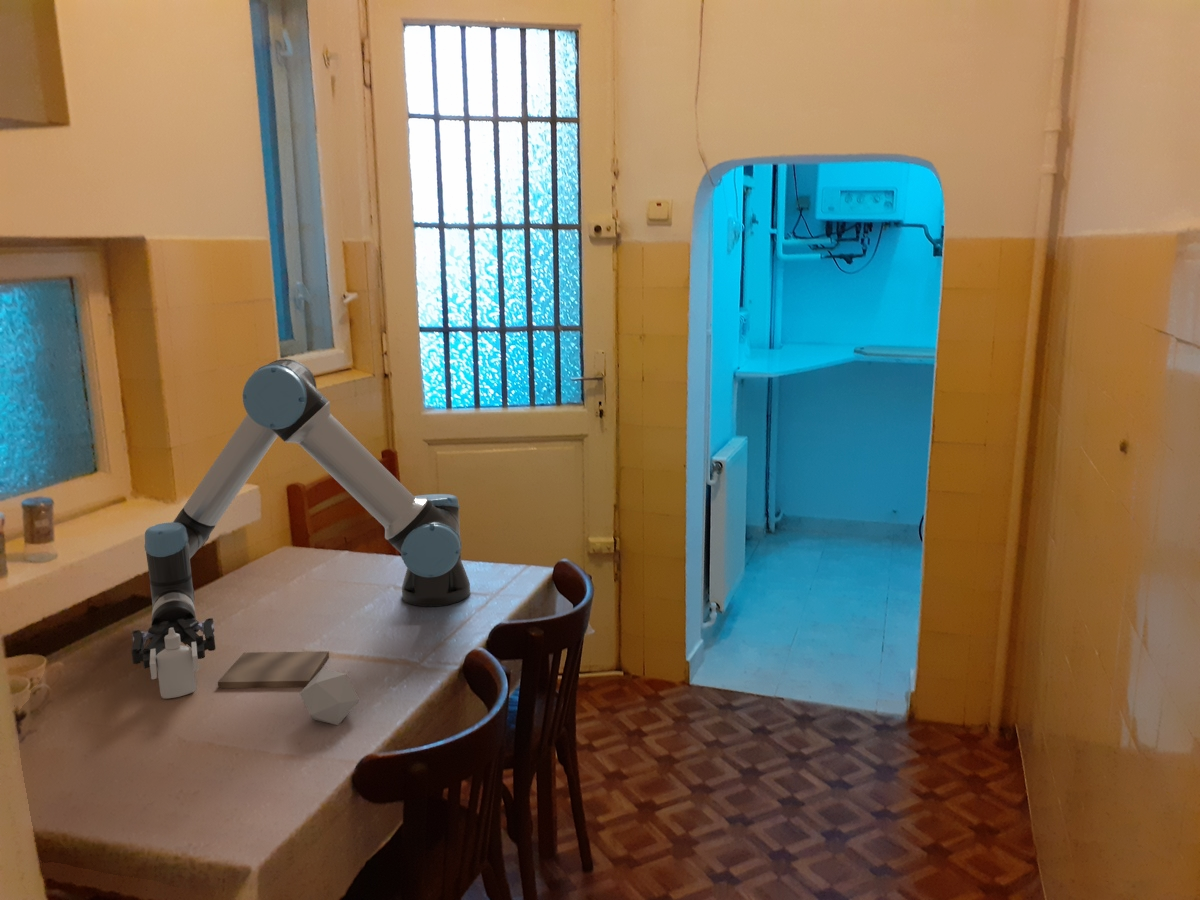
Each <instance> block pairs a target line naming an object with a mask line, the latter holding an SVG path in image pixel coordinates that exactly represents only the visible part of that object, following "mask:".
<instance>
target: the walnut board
mask: <svg viewBox="0 0 1200 900" xmlns="http://www.w3.org/2000/svg"><path fill="white" fill-rule="evenodd" d="M329 658H330V652H329V651H327V650H326V651H325V650H324V651H267V652H266V651H265V652H262V651H259V652H258V651H256V652H243V653H242V654H241V655H240V656H239V657H238V658H237V659H236V660H235V662H234V663H233V664H232V665H231V666H230V668H228V670H227V671H226V672H225V673H224V674H223V675H222V676H221V678H219V680H218V681H217V688H218V689H260V688H261V689H262V688H263V689H264V688H266V689H267V688H277V689H278V688H305V687H306V686H307V685H308V684H309V682H310V681H311V680H312V679H313V678H314V677H315V676H316V675H317V674H318V672H319V671H320V670H321V669H323V668H324V666H325V664H326V663H327V661H328V659H329Z"/></svg>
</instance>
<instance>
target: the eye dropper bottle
mask: <svg viewBox="0 0 1200 900" xmlns="http://www.w3.org/2000/svg"><path fill="white" fill-rule="evenodd" d="M164 640H165V648H164V649H162V650H161V651H160V652H159V653H158V654H157V656H156V662H157V679H158V687H159V692H160V696H161V698H162V699H164V700H165V699H166V700H167V699H175V698H180V697H182V696H186V695H189V694H192V693H193V692H195V691H196V690H197V680H196V679H197V678H196V671H194V667H193V659H192V648H191V647H189V646H188V645H182V642H181V640H180V634H178V633H175V631H174V628H169V633H168V635H166V636H165V637H164Z"/></svg>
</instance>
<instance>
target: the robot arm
mask: <svg viewBox="0 0 1200 900" xmlns="http://www.w3.org/2000/svg"><path fill="white" fill-rule="evenodd" d="M242 390H243V391H242V403H243V407H244V410H245V412H246V413H247V414H246V415H245V417H244V418H243V419H242V421H241V423H239V426H237V428H236V430H235V431H234V433H233V434H232V436H231V437H230V439H229V440H228V441H227V443H226V444H225V446H224V448H223V449H222V450H221V452H220V453H219V455H218V456H217V458H216V459H215V461H214V462H213V463H212V465H211V467H210V468H209V469H208V471H207V473H206V474H205V475H204V477H203V478H202V479H201V481H200V483H199V484H198V485H197V487H196V488H195V490H194V491H193V493H192V495H191V496H190V497H189V499H188V500H187V502H186V503H185V504H184V505H183V508H181V510H180V512H178V514H177V515H176V517H175V518H174V520H173V522H162V523H158V524H155V525H152V526H148V528H147V529H146V530H145V531H144V551H145V554H146V561H147V562H146V563H147V569H148V578H149V585H150V586H149V587H150V594H151V596H150V597H151V604H152V605H151V606H152V607H151V608H152V610H151V626H150V627H149V628H148V630H147V631H140V630H137V629H135V630H133V631H132V632H131V634H132V642H133V643H132V645H131V646H132V647H131V656H132V657H131V659H132V664H133V665H139V664H141V663H142V664H143V669H149V670H150V678H151V680H156V679H158V671H157V662H156V656H157V654H158V653H159V652H161V651H162V650H164V649H166V648H165V640H164V637H165V636H166V635H168V633H169V628H174V631H175V633H178V634H180V640H181V643H182V644H184V646H188V647H190V648H191V650H192V659H193V667H194V671H195V672H200V670H199V667H200V666H199V660H201V659H205V658H206V653H205V652H206V651H207V650H208V651H209V652H213V651H215V650H216V641H215V634H214V632H215V626H214V625H215V624H214V618H212V617H210V618H207V619H205V621H204V620H203V621H202V622H200V621H198V620H197V618H196V608H195V590H194V587H193V585H194V584H193V577H192V567H191V558H192V557H193V556H194V555H195V554H196V553H197V551H199V549H201V547H203V546H204V545H205V544H206V543H207V541H208V540H209V538H210V536H211V534H212V532H213V531H214V530H215V528H216V526H217V524H218V523H219V521H220V520H221V518H222V517H223V516H224V515H225V513H226V511H227V510H228V509H229V508H230V506H231V504H232V503H233V501H234V500H235V499H236V497H237V495H238V494H239V493H240V491H241V490H242V488H243V487H244V486H245V485H246V483H247V481H248V480H249V478H250V477H251V476H252V474H253V472H254V471H255V470H256V469H257V467H258V466H259V464H260V463H261V461H262V460H263V458H264V457H265V456H266V454H267V452H268V451H269V449H270V448H271V447H272V446H273V444H274V442H276V440H277V438H278V437H279V438H280V439H281V440H282V441H283V442H285V443H288V444H297V445H299V446H300V447H301V448H302V449H303V450H304V451H305V452H306V453H307V454H308V455H309V456H310V457H311V458H312V459H313V460H315V461H316V463H317V464H319V466H320V467H321V468H323V469H324V470H325V472H326V473H328V474H329V475H330V476H331V477H332V478H333V479H334V480H335V481H336V482H337V483H338V484H339V485H340V486H341V487H342V488H343V489H345V491H346V492H347V493H349V494H350V496H351V497H352V498H353V499H355V500H356V501H357V503H359V505H361V506H362V507H363V508H364V509H365V510H366V511H367V512H368V513H369V514H370V515H371V516H372V517H373V518H375V520H377V521H378V523H380V525H382V526H383V528H384V538H385V540H386V541H387V542H389V544H390V545H391V546H392V547H393V548H395V550H396V551H397V552H399V553H400V555H401V556H400V557H401V559H402V561H403V563H404V565H405V567H406V571H405V575H404V578H403V582H402V586H401V597H402V600H403V601H404V602H406V603H407V604H409V605H413V606H418V607H440V606H441V607H442V606H447V605H452V604H456V603H458V602H461V601H463V600H464V599H466V598H468V597H469V595H470V593H471V583H470V580H469V577H468V574H467V572H466V570H465V569H466V568H465V567H464V564H463V561H462V554H461V551H462V541H461V531H460V530H461V527H460V509H461V508H460V504H459V499H458V496H456V495H453V494H448V493H433V494H420V495H413V494H412V492H410V491H409V490H408V489H407V487H405V486H404V485H403V484H402V483H401V482H400V481H399V480H398V479H397V478H396V477H395V475H393V474H392V473H391V471H389V470H388V469H387V468H386V467H385V466H384V465H383V464H382V463H381V462H380V461H379V460H378V459H377V458H376V457H375V456H374V455H373V453H371V452H370V451H369V450H368V449H367V448H366V447H365V446H364V445H363V444H362V443H361V442H360V441H359V440H358V439H357V438H356V437H355V436H354V435H353V434H352V433H351V432H350V431H349V430H348V429H347V428H346V427H345V426H344V425H343V424H342V423H341V422H340V421H339V420H338V419H337V418H336V417H335V416H333V414H332V413H331V401H329V399H327V397H326V396H325V395H324V394H323V393H322V392H321V391H319V390H318V388H317V380H316V378H315V376H314V374H313V372H312V371H311V370H310V368H308V367H307V366H306V365H305V364H303V363H301V362H300V361H297V360H295V359H288V358H287V359H286V358H283V359H276V360H275V361H274V360H273V361H272V362H269V363H268V364H265V365H263V366H260V367H258V368H257V370H254V372H253V373H252V374H251V375H250V377H248V378H247V380H246V382H245V385H244V386H243V389H242ZM199 631H200V632H201V633H202V635H199V634H198V632H199ZM203 635H204V636H203ZM148 639H149V640H150V641H148ZM146 641H148V643H146ZM145 645H146V646H145Z"/></svg>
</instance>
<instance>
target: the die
mask: <svg viewBox="0 0 1200 900" xmlns="http://www.w3.org/2000/svg"><path fill="white" fill-rule="evenodd" d="M299 695H300V697H301V699H302V701H303V702H302V703H304V705H305V708H306V709H307V712H308V714H309V716H310V718H312V720H315V721H319V722H322V723H328V724H331V725H335V726H339V725H340V724H341V723H342V721H343V720H344V719H346V717H347V716H348V715H349V713H350V712H351V711H352V710H353V709H354V707H355V706H356V705H357V704H358V703H359V702H360V698H359V695H358V694H357V692H356V690H355V688H354V686H353V683H352V682H351V679H350V678H349V676H348V673H345V672H339V671H334V670H330V669H326V668H322V669H321V670H320V671H319V672H318V674H317V675H316V676H315V677H314V678H313V679H312V680H311V681H310V682H309V684H308V685H307V686H306V687H303V688H302V690H301V691H300V692H299Z"/></svg>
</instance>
